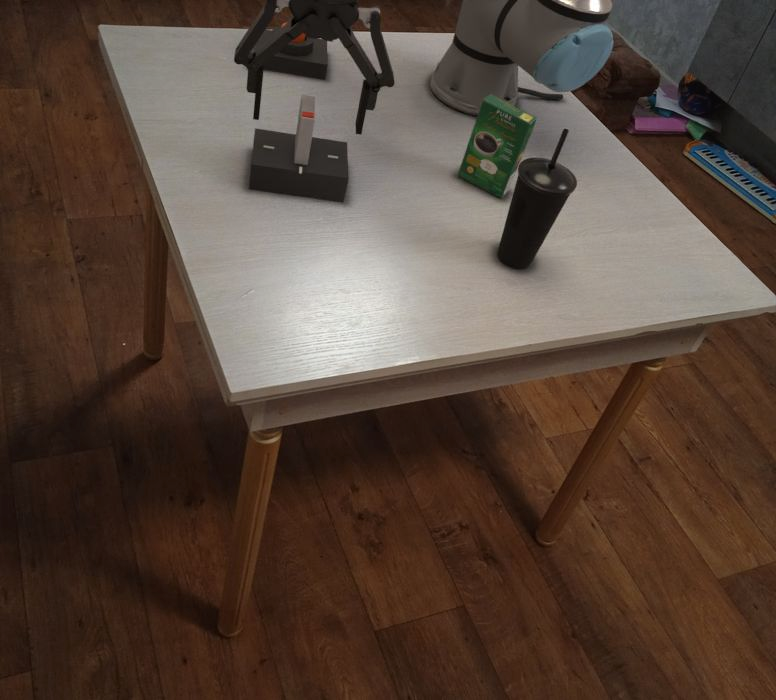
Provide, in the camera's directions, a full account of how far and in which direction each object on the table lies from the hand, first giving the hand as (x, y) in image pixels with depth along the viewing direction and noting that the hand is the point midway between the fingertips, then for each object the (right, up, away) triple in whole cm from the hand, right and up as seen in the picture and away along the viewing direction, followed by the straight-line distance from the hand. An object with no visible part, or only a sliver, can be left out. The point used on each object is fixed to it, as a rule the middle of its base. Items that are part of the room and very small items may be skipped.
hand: (307, 122), depth 110 cm
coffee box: (+25, -6, +15) cm, 30 cm away
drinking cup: (+28, -18, +3) cm, 33 cm away
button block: (-6, +18, +29) cm, 35 cm away
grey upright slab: (-1, -3, +3) cm, 5 cm away
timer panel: (-2, -6, +6) cm, 9 cm away
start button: (-5, +21, +26) cm, 34 cm away
